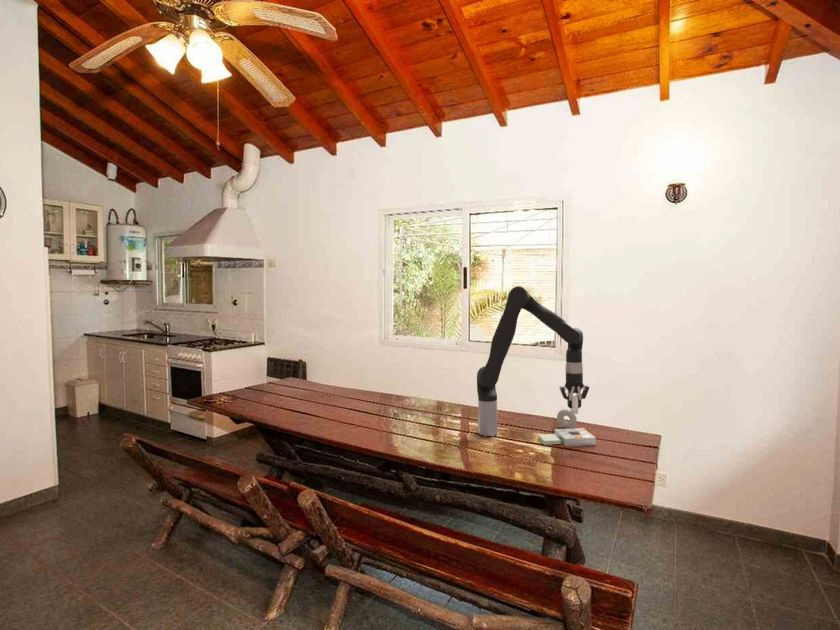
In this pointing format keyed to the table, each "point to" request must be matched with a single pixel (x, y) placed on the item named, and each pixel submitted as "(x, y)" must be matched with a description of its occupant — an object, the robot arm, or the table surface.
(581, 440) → the flange
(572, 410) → the peg
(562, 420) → the donut
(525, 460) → the table surface
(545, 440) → the square base plate
